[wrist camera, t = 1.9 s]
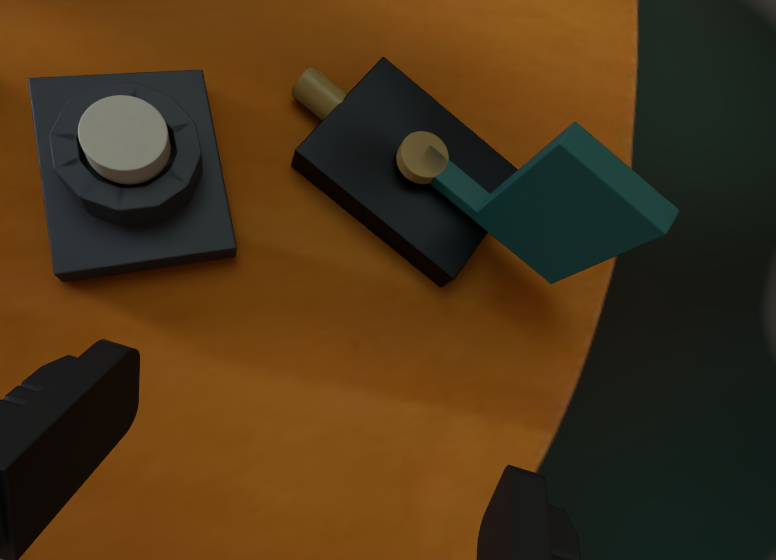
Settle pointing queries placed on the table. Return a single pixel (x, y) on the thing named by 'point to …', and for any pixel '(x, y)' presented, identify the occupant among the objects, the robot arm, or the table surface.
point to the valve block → (394, 165)
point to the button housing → (135, 201)
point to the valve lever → (551, 201)
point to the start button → (124, 139)
